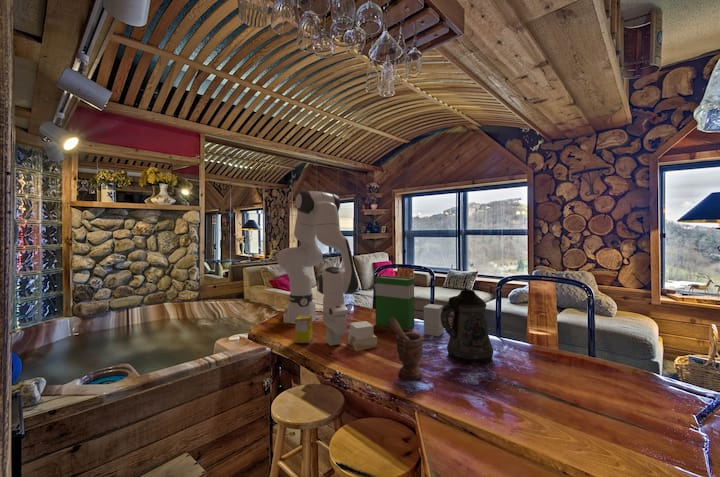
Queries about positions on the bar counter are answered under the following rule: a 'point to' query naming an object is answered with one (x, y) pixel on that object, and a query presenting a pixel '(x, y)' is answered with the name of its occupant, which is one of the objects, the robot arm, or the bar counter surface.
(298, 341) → the supplement box
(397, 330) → the mortar and pestle
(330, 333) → the sage block
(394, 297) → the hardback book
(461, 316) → the beer stein
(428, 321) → the supplement box
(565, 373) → the bar counter surface
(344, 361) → the bar counter surface
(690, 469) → the bar counter surface
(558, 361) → the bar counter surface
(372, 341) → the tower base
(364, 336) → the tower top
